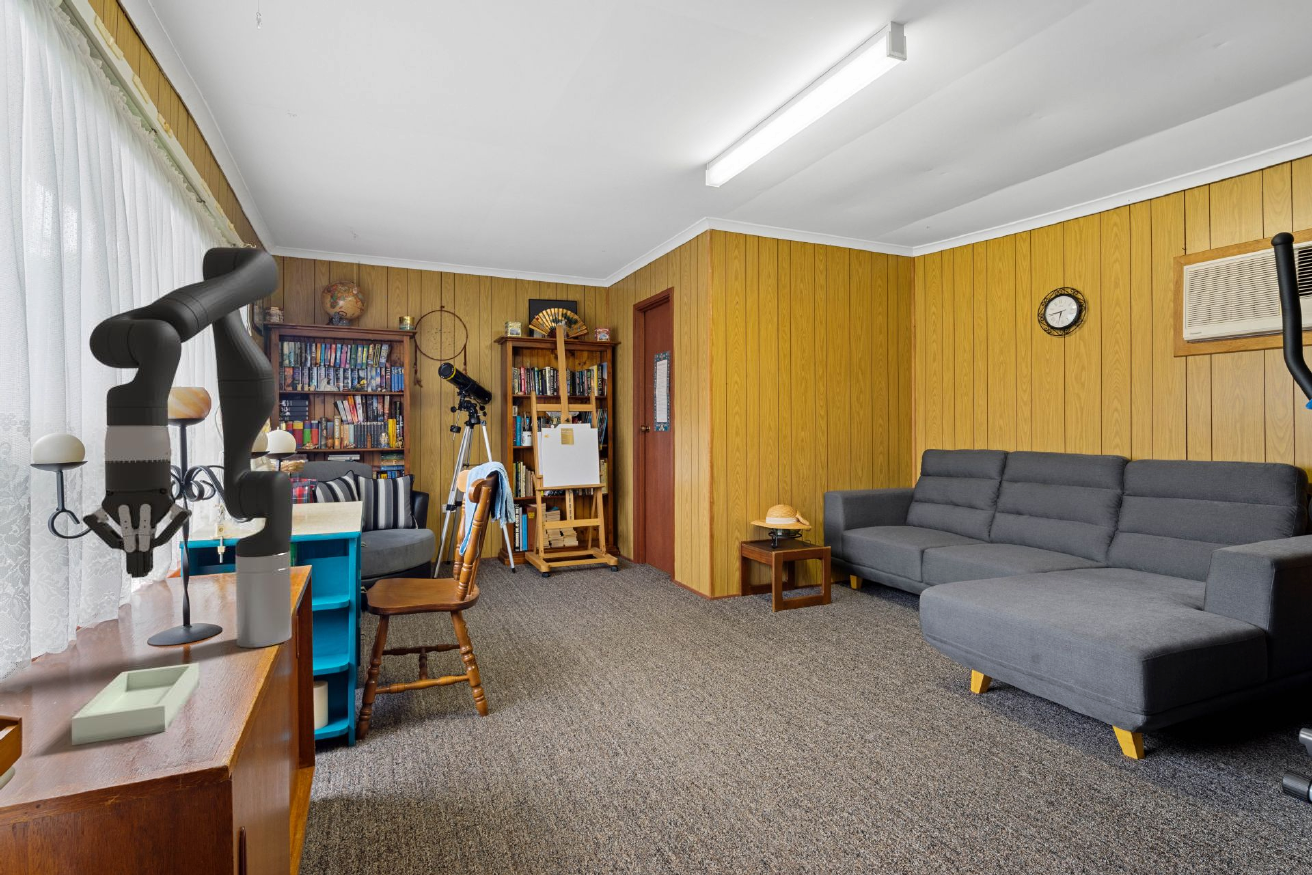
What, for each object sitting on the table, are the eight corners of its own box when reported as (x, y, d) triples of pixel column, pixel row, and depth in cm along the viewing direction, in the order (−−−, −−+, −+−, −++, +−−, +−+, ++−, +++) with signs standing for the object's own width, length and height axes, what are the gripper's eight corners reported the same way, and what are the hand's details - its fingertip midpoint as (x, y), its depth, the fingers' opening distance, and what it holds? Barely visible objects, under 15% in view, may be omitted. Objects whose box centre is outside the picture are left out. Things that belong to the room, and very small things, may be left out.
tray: (122, 694, 102) (122, 671, 102) (199, 684, 106) (198, 662, 106) (71, 745, 85) (71, 718, 85) (165, 731, 89) (164, 705, 89)
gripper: (69, 459, 89) (71, 586, 89) (186, 457, 94) (187, 577, 94) (92, 457, 96) (93, 575, 96) (199, 455, 101) (200, 567, 101)
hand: (140, 576), depth 95 cm, fingers closed
